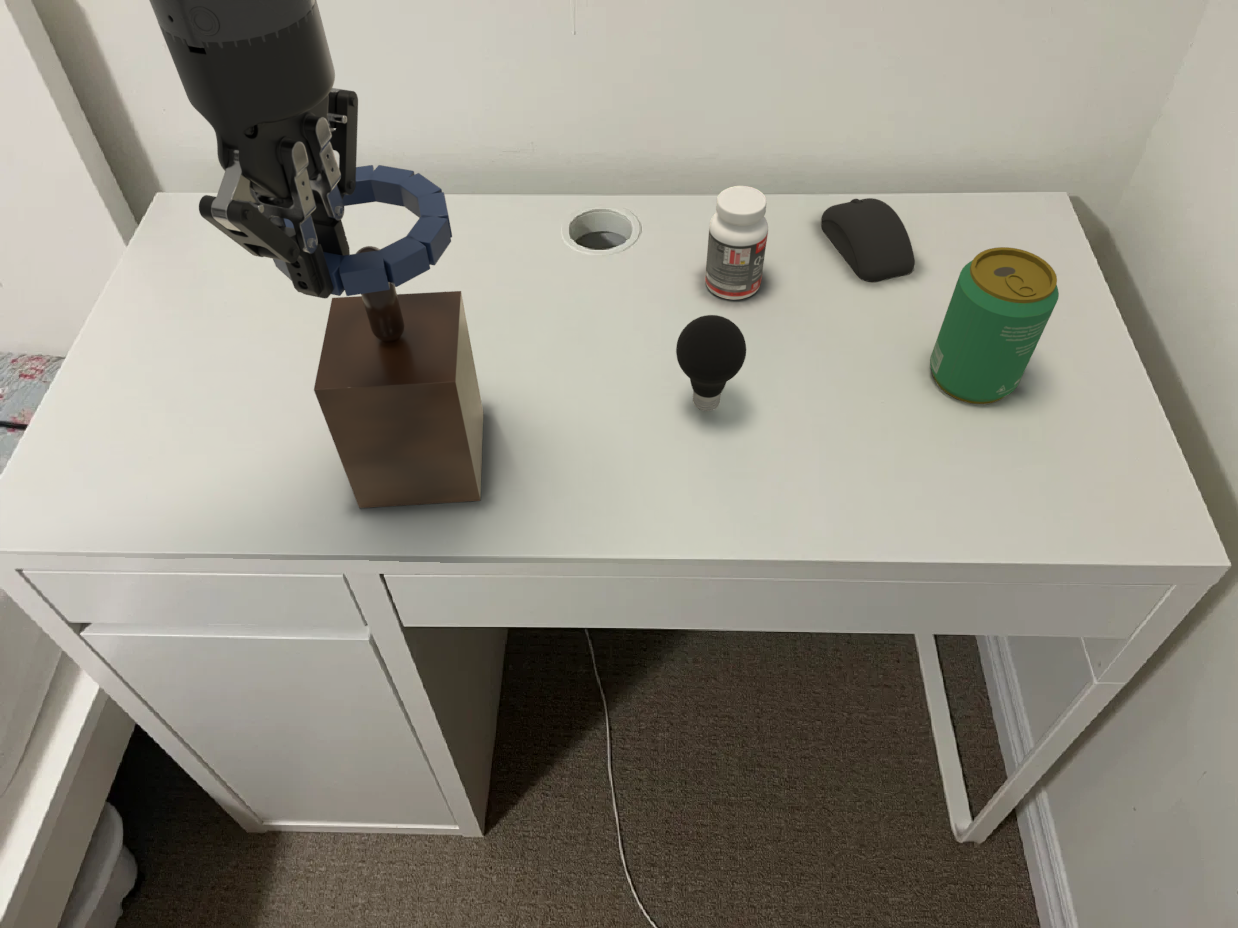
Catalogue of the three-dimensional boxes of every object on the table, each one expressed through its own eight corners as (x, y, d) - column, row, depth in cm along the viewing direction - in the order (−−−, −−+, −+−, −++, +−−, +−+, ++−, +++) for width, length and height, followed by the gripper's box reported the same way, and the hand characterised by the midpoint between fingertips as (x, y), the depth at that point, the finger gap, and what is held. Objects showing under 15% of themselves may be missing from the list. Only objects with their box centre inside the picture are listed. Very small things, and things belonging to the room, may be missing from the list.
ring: (273, 307, 56) (264, 284, 55) (275, 201, 64) (267, 178, 62) (460, 279, 58) (456, 256, 57) (441, 178, 65) (437, 155, 64)
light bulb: (749, 421, 81) (762, 337, 73) (689, 439, 79) (695, 356, 72) (720, 377, 84) (730, 293, 77) (662, 394, 83) (666, 310, 75)
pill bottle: (762, 302, 91) (774, 218, 83) (705, 301, 91) (712, 218, 83) (758, 265, 95) (769, 182, 87) (703, 265, 95) (710, 182, 87)
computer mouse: (867, 210, 101) (874, 178, 98) (918, 271, 94) (928, 239, 91) (815, 221, 99) (821, 189, 96) (863, 284, 93) (871, 252, 90)
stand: (359, 508, 75) (279, 302, 58) (371, 418, 81) (303, 209, 64) (480, 500, 75) (437, 293, 58) (483, 412, 82) (445, 202, 65)
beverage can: (983, 338, 87) (1025, 234, 78) (1034, 394, 83) (1085, 291, 73) (910, 358, 86) (944, 254, 76) (958, 417, 81) (1001, 314, 72)
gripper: (244, -64, 49) (326, 209, 62) (78, 54, 41) (214, 341, 54) (369, -49, 48) (426, 228, 61) (224, 77, 39) (326, 366, 53)
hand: (326, 280), depth 58 cm, fingers closed on ring, 2 cm apart
